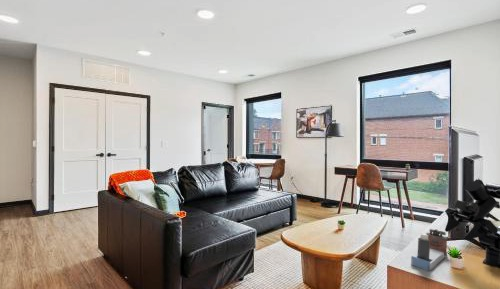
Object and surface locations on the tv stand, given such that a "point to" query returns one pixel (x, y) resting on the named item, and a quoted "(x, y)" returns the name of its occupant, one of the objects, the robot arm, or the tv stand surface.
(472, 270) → the tv stand surface
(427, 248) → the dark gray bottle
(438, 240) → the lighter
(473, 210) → the robot arm
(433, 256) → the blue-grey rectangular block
